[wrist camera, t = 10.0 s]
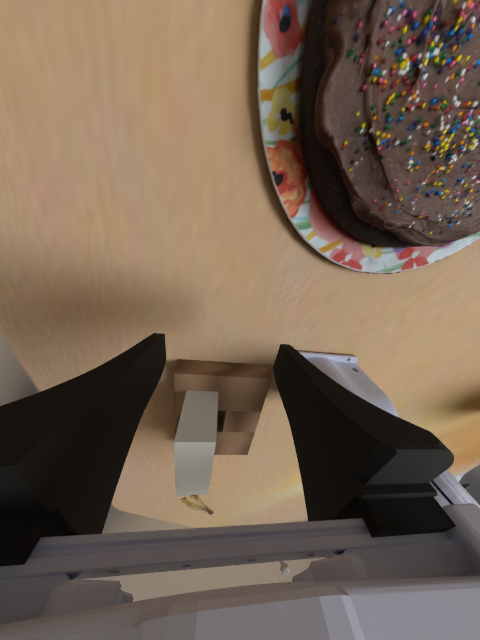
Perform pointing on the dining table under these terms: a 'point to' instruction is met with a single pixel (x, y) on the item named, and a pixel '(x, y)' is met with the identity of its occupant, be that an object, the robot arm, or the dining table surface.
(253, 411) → the notched shelf
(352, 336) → the dining table surface
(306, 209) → the chocolate cake
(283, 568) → the rook chess piece
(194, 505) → the tongs
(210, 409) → the grey rubber bar
